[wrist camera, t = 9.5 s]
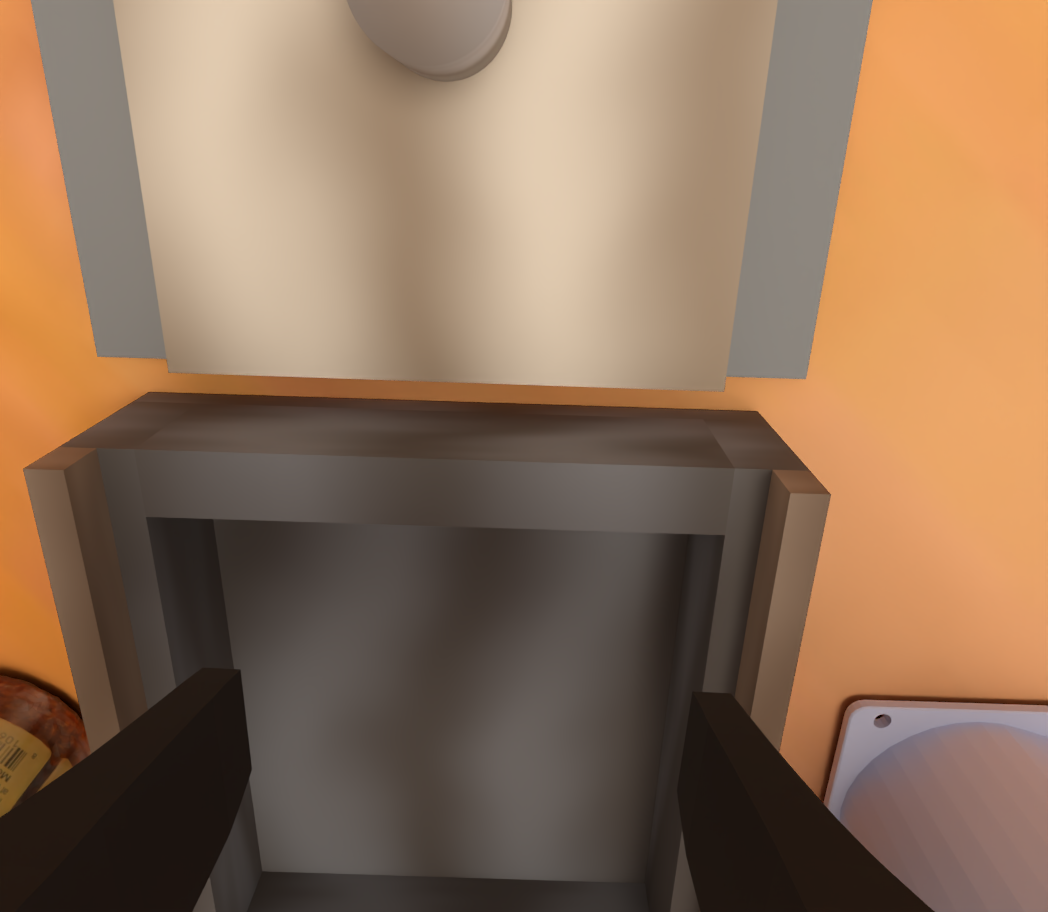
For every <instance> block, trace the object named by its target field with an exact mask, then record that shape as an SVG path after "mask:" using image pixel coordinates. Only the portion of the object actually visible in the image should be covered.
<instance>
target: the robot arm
mask: <svg viewBox="0 0 1048 912" xmlns="http://www.w3.org/2000/svg"><path fill="white" fill-rule="evenodd" d="M882 714H884V716H883V717H881V718H879V719H875V718H876V717H877V716H879V715H882ZM251 771H252V765H251V756H250V747H249V738H248V730H247V721H246V712H245V704H244V695H243V686H242V677H241V669H222V668H201V669H200V670H199V671H197V672H196V673H195V674H193V675H192V676H191V677H189V678H188V679H187V680H185V681H184V682H183V683H182V684H180V685H179V686H178V687H176V688H175V689H174V690H173V691H171V692H170V693H169V694H168V695H166V696H165V697H164V698H163V699H161V700H160V701H159V702H157V703H156V704H155V705H154V706H152V707H151V708H150V709H149V710H147V711H146V712H145V713H144V714H142V715H141V716H140V717H139V718H137V719H136V720H135V721H133V722H132V723H131V724H129V725H128V726H127V727H126V728H124V729H123V730H122V731H120V732H119V733H118V734H116V735H115V736H114V737H113V738H111V739H110V740H109V741H107V742H106V743H105V744H103V745H102V746H101V747H100V748H98V749H97V750H96V751H94V752H93V753H92V754H90V755H89V756H88V757H86V758H85V759H83V760H82V761H81V762H79V763H78V764H76V765H75V766H73V767H72V768H71V769H69V770H68V771H66V772H65V773H64V774H62V775H61V776H59V777H58V778H57V779H55V780H54V781H52V782H51V783H49V784H48V785H47V786H45V787H44V788H42V789H41V790H40V791H38V792H37V793H35V794H34V795H33V796H31V797H30V798H28V799H27V800H26V801H24V802H23V803H21V804H20V805H18V806H17V807H15V808H14V809H12V810H11V811H9V812H8V813H6V814H4V815H3V816H1V817H0V912H193V910H194V907H195V905H196V903H197V901H198V899H199V897H200V895H201V893H202V891H203V889H204V887H205V885H206V883H207V881H208V879H209V877H210V875H211V872H212V870H213V868H214V866H215V864H216V862H217V860H218V858H219V856H220V854H221V852H222V849H223V847H224V845H225V843H226V841H227V839H228V837H229V834H230V832H231V829H232V827H233V824H234V821H235V818H236V816H237V813H238V810H239V807H240V804H241V801H242V798H243V795H244V792H245V789H246V786H247V783H248V780H249V777H250V774H251ZM677 795H678V803H679V810H680V818H681V825H682V832H683V839H684V845H685V852H686V857H687V861H688V865H689V869H690V873H691V877H692V881H693V885H694V889H695V893H696V897H697V901H698V905H699V908H700V912H1048V705H1019V704H987V703H955V702H924V701H892V700H858V701H856V702H853V703H852V704H850V705H849V706H848V707H847V709H846V711H845V714H844V718H843V723H842V727H841V731H840V735H839V740H838V744H837V748H836V752H835V756H834V761H833V765H832V769H831V773H830V778H829V782H828V786H827V790H826V794H825V799H824V803H822V802H821V800H820V799H819V798H818V797H817V796H816V795H815V794H814V792H813V791H812V790H811V789H810V788H809V787H808V786H807V785H806V783H805V782H804V781H803V780H802V779H801V778H800V777H799V775H798V774H797V773H796V772H795V771H794V770H793V768H792V767H791V766H790V765H789V764H788V763H787V761H786V760H785V759H784V758H783V757H782V755H781V754H780V753H779V752H778V751H777V749H776V748H775V747H774V746H773V744H772V743H771V742H770V741H769V740H768V738H767V737H766V736H765V735H764V733H763V732H762V731H761V730H760V728H759V727H758V726H757V725H756V723H755V722H754V721H753V720H752V718H751V717H750V716H749V715H748V714H747V712H746V711H745V710H744V709H743V707H742V706H741V705H740V704H739V702H738V701H737V700H736V699H735V698H734V696H733V695H732V694H731V693H714V692H694V691H692V697H691V703H690V710H689V716H688V722H687V729H686V735H685V741H684V748H683V754H682V761H681V767H680V773H679V780H678V786H677Z"/></svg>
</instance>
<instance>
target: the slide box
mask: <svg viewBox="0 0 1048 912" xmlns="http://www.w3.org/2000/svg"><path fill="white" fill-rule="evenodd" d="M23 471H24V475H25V479H26V483H27V487H28V492H29V496H30V500H31V504H32V508H33V513H34V517H35V521H36V525H37V529H38V534H39V538H40V542H41V546H42V550H43V554H44V559H45V563H46V567H47V571H48V575H49V580H50V584H51V588H52V592H53V596H54V601H55V605H56V609H57V613H58V617H59V621H60V626H61V630H62V634H63V638H64V642H65V647H66V651H67V655H68V659H69V663H70V668H71V672H72V676H73V680H74V684H75V689H76V693H77V697H78V701H79V705H80V709H81V714H82V718H83V722H84V726H85V730H86V735H87V739H88V743H89V747H90V751H91V754H92V753H93V752H94V751H96V750H97V749H98V748H100V747H101V746H102V745H103V744H105V743H106V742H107V741H109V740H110V739H111V738H113V737H114V736H115V735H116V734H118V733H119V732H120V731H122V730H123V729H124V728H126V727H127V726H128V725H129V724H131V723H132V722H133V721H135V720H136V719H137V718H139V717H140V716H141V715H142V714H144V713H145V712H146V711H147V710H149V709H150V708H151V707H152V706H154V705H155V704H156V703H157V702H159V701H160V700H161V699H163V698H164V697H165V696H166V695H168V694H169V693H170V692H171V691H173V690H174V689H175V688H176V687H178V686H179V685H180V684H182V683H183V682H184V681H185V680H187V679H188V678H189V677H191V676H192V675H193V674H195V673H196V672H197V671H199V670H200V669H201V668H222V669H241V677H242V686H243V695H244V704H245V712H246V721H247V730H248V738H249V747H250V756H251V765H252V771H251V774H250V777H249V780H248V783H247V786H246V789H245V792H244V795H243V798H242V801H241V804H240V807H239V810H238V813H237V816H236V818H235V821H234V824H233V827H232V829H231V832H230V834H229V837H228V839H227V841H226V843H225V845H224V847H223V849H222V852H221V854H220V856H219V858H218V860H217V862H216V864H215V866H214V868H213V870H212V872H211V875H210V877H209V879H208V881H207V883H206V885H205V887H204V889H203V891H202V893H201V895H200V897H199V899H198V901H197V903H196V905H195V907H194V910H193V912H700V908H699V905H698V901H697V897H696V893H695V889H694V885H693V881H692V877H691V873H690V869H689V865H688V861H687V857H686V852H685V845H684V839H683V832H682V825H681V818H680V810H679V803H678V795H677V786H678V780H679V773H680V767H681V761H682V754H683V748H684V741H685V735H686V729H687V722H688V716H689V710H690V703H691V697H692V691H694V692H714V693H731V694H732V695H733V696H734V698H735V699H736V700H737V701H738V702H739V704H740V705H741V706H742V707H743V709H744V710H745V711H746V712H747V714H748V715H749V716H750V717H751V718H752V720H753V721H754V722H755V723H756V725H757V726H758V727H759V728H760V730H761V731H762V732H763V733H764V735H765V736H766V737H767V738H768V740H769V741H770V742H771V743H772V744H773V746H774V747H775V748H776V749H777V751H778V752H779V750H780V745H781V740H782V736H783V731H784V726H785V721H786V716H787V711H788V706H789V701H790V696H791V691H792V686H793V681H794V676H795V671H796V666H797V661H798V656H799V651H800V646H801V641H802V636H803V631H804V626H805V621H806V616H807V611H808V606H809V601H810V596H811V591H812V586H813V581H814V576H815V571H816V566H817V561H818V556H819V551H820V546H821V541H822V536H823V531H824V526H825V521H826V516H827V511H828V506H829V501H830V496H831V494H830V493H829V492H828V491H827V490H826V488H825V487H824V486H823V485H822V484H821V483H820V482H819V480H818V479H817V478H816V477H815V476H814V475H813V474H812V473H811V471H810V470H809V469H808V468H807V467H806V466H805V465H804V463H803V462H802V461H801V460H800V459H799V458H798V457H797V456H796V454H795V453H794V452H793V451H792V450H791V449H790V448H789V446H788V445H787V444H786V443H785V442H784V441H783V440H782V439H781V437H780V436H779V435H778V434H777V433H776V432H775V431H774V429H773V428H772V427H771V426H770V425H769V424H768V423H767V422H766V420H765V419H764V418H763V417H762V416H761V415H760V414H759V412H758V411H727V410H696V409H664V408H633V407H601V406H570V405H538V404H507V403H475V402H444V401H412V400H381V399H349V398H318V397H286V396H255V395H223V394H192V393H160V392H148V393H147V394H145V395H143V396H142V397H140V398H138V399H137V400H135V401H133V402H132V403H130V404H128V405H127V406H125V407H124V408H122V409H120V410H119V411H117V412H115V413H114V414H112V415H110V416H109V417H107V418H106V419H104V420H102V421H101V422H99V423H97V424H96V425H94V426H92V427H91V428H89V429H88V430H86V431H84V432H83V433H81V434H79V435H78V436H76V437H74V438H73V439H71V440H70V441H68V442H66V443H65V444H63V445H61V446H60V447H58V448H56V449H55V450H53V451H52V452H50V453H48V454H47V455H45V456H43V457H42V458H40V459H38V460H37V461H35V462H34V463H32V464H30V465H29V466H27V467H25V468H24V469H23Z"/></svg>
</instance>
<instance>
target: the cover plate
mask: <svg viewBox="0 0 1048 912" xmlns="http://www.w3.org/2000/svg"><path fill="white" fill-rule="evenodd" d="M777 3H778V0H113V4H114V10H115V17H116V24H117V30H118V37H119V44H120V50H121V57H122V64H123V70H124V77H125V84H126V91H127V97H128V104H129V111H130V117H131V124H132V131H133V137H134V144H135V151H136V157H137V164H138V171H139V178H140V184H141V191H142V198H143V204H144V211H145V218H146V224H147V231H148V238H149V244H150V251H151V258H152V265H153V271H154V278H155V285H156V291H157V298H158V305H159V311H160V318H161V325H162V331H163V338H164V345H165V352H166V358H167V365H168V372H169V373H194V374H223V375H252V376H282V377H311V378H340V379H369V380H398V381H428V382H457V383H486V384H515V385H544V386H573V387H603V388H632V389H661V390H690V391H719V392H724V389H725V382H726V374H727V367H728V360H729V352H730V345H731V338H732V331H733V323H734V316H735V309H736V301H737V294H738V287H739V280H740V272H741V265H742V258H743V250H744V243H745V236H746V229H747V221H748V214H749V207H750V200H751V192H752V185H753V178H754V170H755V163H756V156H757V149H758V141H759V134H760V127H761V119H762V112H763V105H764V98H765V90H766V83H767V76H768V68H769V61H770V54H771V47H772V39H773V32H774V25H775V18H776V10H777Z"/></svg>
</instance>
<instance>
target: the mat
mask: <svg viewBox="0 0 1048 912" xmlns="http://www.w3.org/2000/svg"><path fill="white" fill-rule="evenodd" d="M872 1H873V0H778V3H777V10H776V18H775V25H774V32H773V39H772V47H771V54H770V61H769V68H768V76H767V83H766V90H765V98H764V105H763V112H762V119H761V127H760V134H759V141H758V149H757V156H756V163H755V170H754V178H753V185H752V192H751V200H750V207H749V214H748V221H747V229H746V236H745V243H744V250H743V258H742V265H741V272H740V280H739V287H738V294H737V301H736V309H735V316H734V323H733V331H732V338H731V345H730V352H729V360H728V367H727V374H726V377H757V378H789V379H806V376H807V370H808V365H809V359H810V353H811V348H812V342H813V336H814V331H815V325H816V319H817V314H818V308H819V302H820V297H821V291H822V285H823V279H824V274H825V268H826V262H827V257H828V251H829V245H830V240H831V234H832V228H833V223H834V217H835V211H836V206H837V200H838V194H839V189H840V183H841V177H842V171H843V166H844V160H845V154H846V149H847V143H848V137H849V132H850V126H851V120H852V115H853V109H854V103H855V98H856V92H857V86H858V81H859V75H860V69H861V63H862V58H863V52H864V46H865V41H866V35H867V29H868V24H869V18H870V12H871V7H872ZM31 4H32V9H33V14H34V20H35V25H36V31H37V36H38V41H39V47H40V52H41V57H42V63H43V68H44V73H45V79H46V84H47V89H48V95H49V100H50V105H51V111H52V116H53V121H54V127H55V132H56V137H57V143H58V148H59V153H60V159H61V164H62V169H63V175H64V180H65V185H66V191H67V196H68V202H69V207H70V212H71V218H72V223H73V228H74V234H75V239H76V244H77V250H78V255H79V260H80V266H81V271H82V276H83V282H84V287H85V292H86V298H87V303H88V308H89V314H90V319H91V324H92V330H93V335H94V340H95V346H96V351H97V356H98V357H128V358H159V359H167V358H166V352H165V345H164V338H163V331H162V325H161V318H160V311H159V305H158V298H157V291H156V285H155V278H154V271H153V265H152V258H151V251H150V244H149V238H148V231H147V224H146V218H145V211H144V204H143V198H142V191H141V184H140V178H139V171H138V164H137V157H136V151H135V144H134V137H133V131H132V124H131V117H130V111H129V104H128V97H127V91H126V84H125V77H124V70H123V64H122V57H121V50H120V44H119V37H118V30H117V24H116V17H115V10H114V4H113V0H31Z"/></svg>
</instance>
